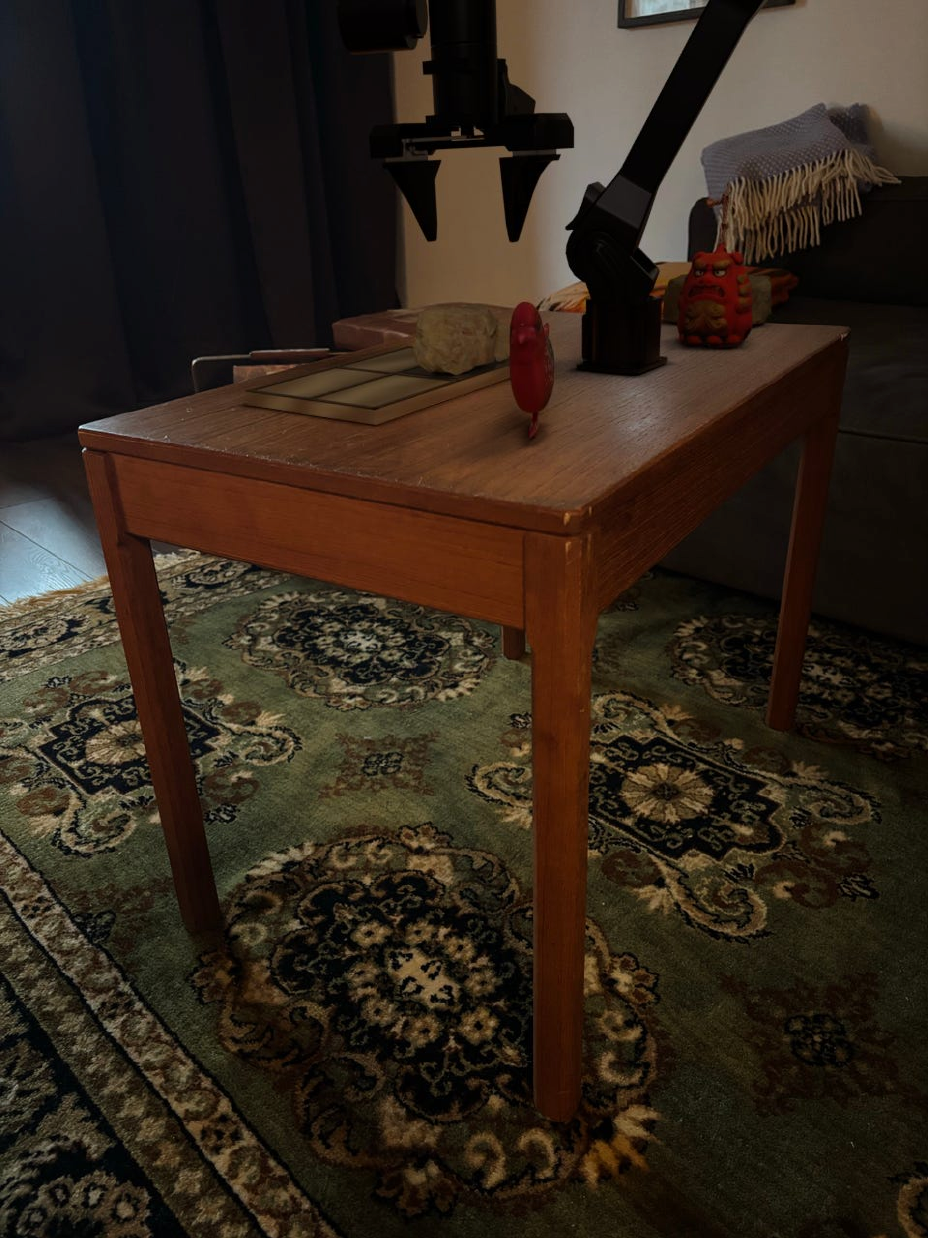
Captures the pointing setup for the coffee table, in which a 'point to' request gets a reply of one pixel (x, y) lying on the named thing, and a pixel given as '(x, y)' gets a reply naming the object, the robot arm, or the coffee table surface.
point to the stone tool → (459, 338)
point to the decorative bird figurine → (530, 362)
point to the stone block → (759, 293)
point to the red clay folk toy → (716, 295)
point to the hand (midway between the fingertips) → (471, 241)
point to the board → (373, 388)
